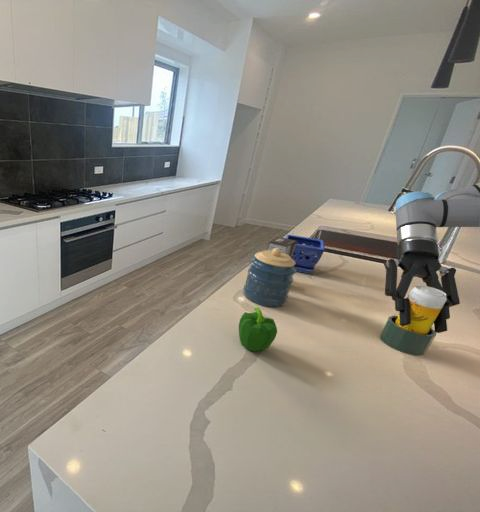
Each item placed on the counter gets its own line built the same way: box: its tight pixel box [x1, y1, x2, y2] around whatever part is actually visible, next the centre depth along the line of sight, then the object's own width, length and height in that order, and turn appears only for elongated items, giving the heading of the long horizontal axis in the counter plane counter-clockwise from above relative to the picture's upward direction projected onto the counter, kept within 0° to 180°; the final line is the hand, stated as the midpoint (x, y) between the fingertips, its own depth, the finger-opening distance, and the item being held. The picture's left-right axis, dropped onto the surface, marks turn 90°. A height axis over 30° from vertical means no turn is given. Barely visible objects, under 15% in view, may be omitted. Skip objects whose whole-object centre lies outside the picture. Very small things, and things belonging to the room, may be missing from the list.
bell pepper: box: [238, 306, 278, 352], centre depth 74 cm, size 8×8×10 cm
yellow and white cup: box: [395, 284, 447, 335], centre depth 76 cm, size 6×6×15 cm
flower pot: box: [285, 234, 326, 274], centre depth 121 cm, size 13×13×12 cm
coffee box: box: [266, 236, 297, 258], centre depth 108 cm, size 9×6×16 cm
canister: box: [242, 248, 297, 308], centre depth 96 cm, size 13×13×18 cm
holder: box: [379, 315, 437, 356], centre depth 78 cm, size 9×9×6 cm
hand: (422, 327), depth 73 cm, fingers closed on yellow and white cup, 6 cm apart
